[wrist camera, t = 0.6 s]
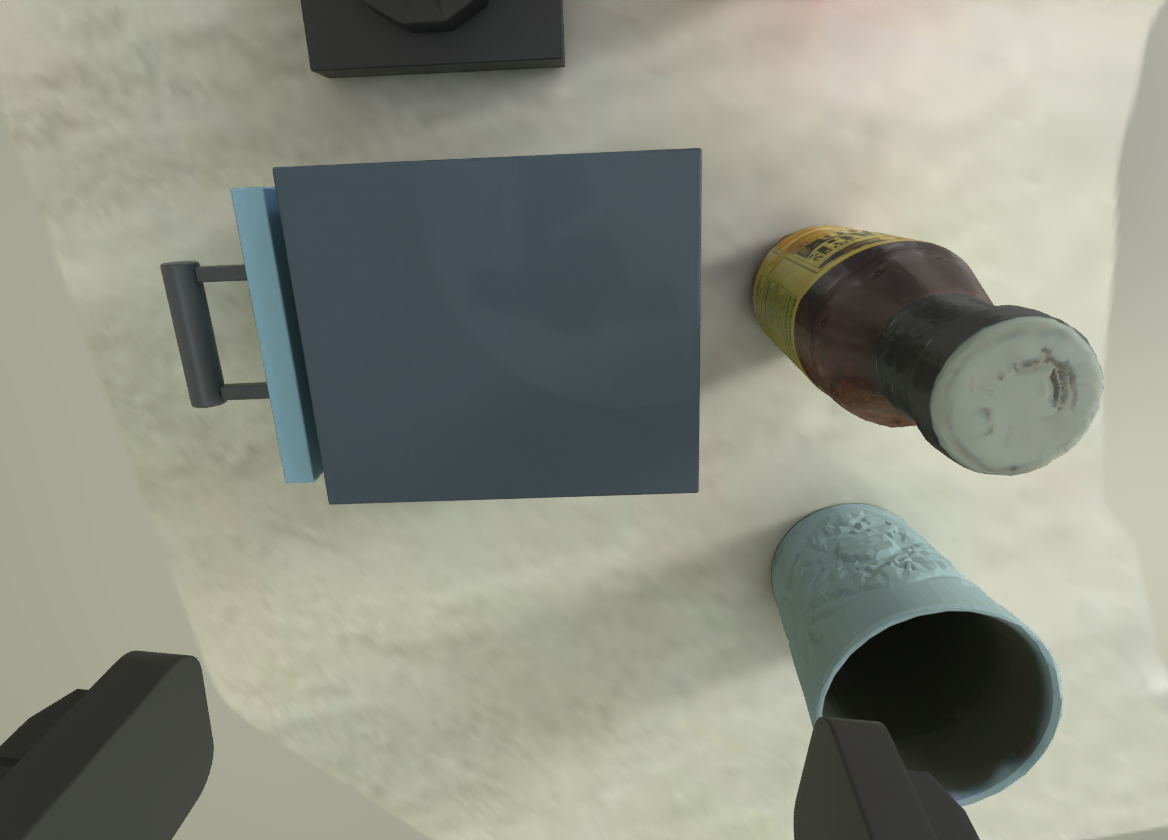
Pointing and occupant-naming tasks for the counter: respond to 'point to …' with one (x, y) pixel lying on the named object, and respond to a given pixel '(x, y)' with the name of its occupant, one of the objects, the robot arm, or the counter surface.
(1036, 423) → the sauce bottle
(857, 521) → the embossed plant pot
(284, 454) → the light blue drawer
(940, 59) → the counter surface
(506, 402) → the grey drawer cabinet
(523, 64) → the block
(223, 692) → the counter surface
